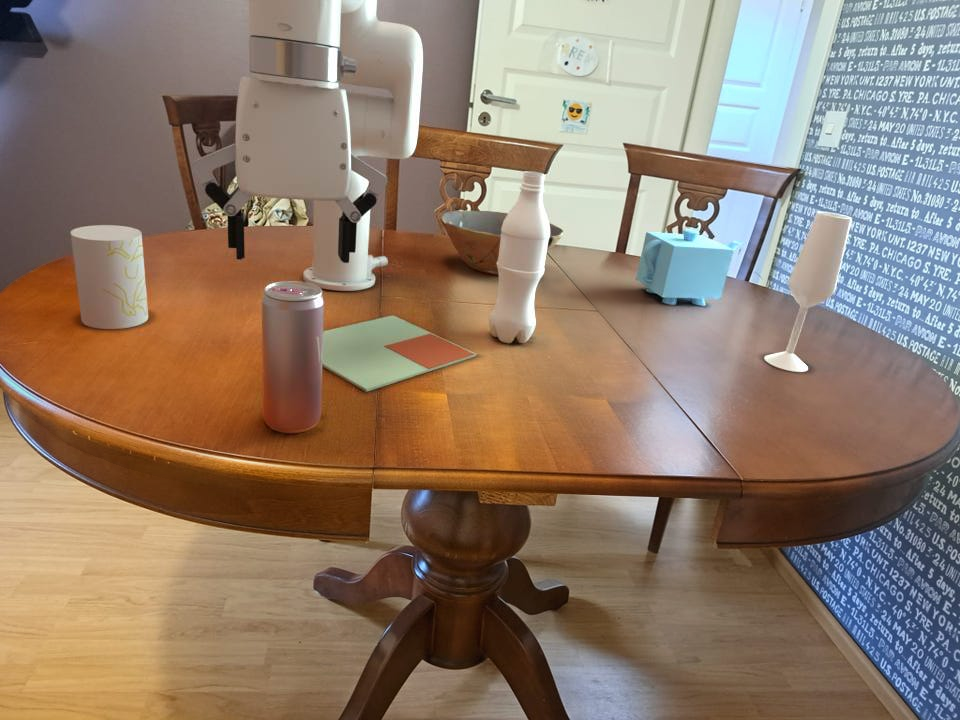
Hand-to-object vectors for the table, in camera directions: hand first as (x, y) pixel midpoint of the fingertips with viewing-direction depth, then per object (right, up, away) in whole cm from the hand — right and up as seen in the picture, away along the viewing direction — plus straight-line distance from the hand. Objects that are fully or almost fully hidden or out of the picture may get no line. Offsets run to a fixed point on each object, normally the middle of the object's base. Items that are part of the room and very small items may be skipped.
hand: (293, 257), depth 64 cm
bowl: (+21, +9, +74) cm, 78 cm away
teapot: (+60, +3, +71) cm, 93 cm away
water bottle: (+23, -7, +39) cm, 45 cm away
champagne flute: (+68, -11, +43) cm, 81 cm away
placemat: (+4, -9, +28) cm, 30 cm away
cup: (-32, -4, +27) cm, 43 cm away
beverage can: (-2, -17, +8) cm, 19 cm away
